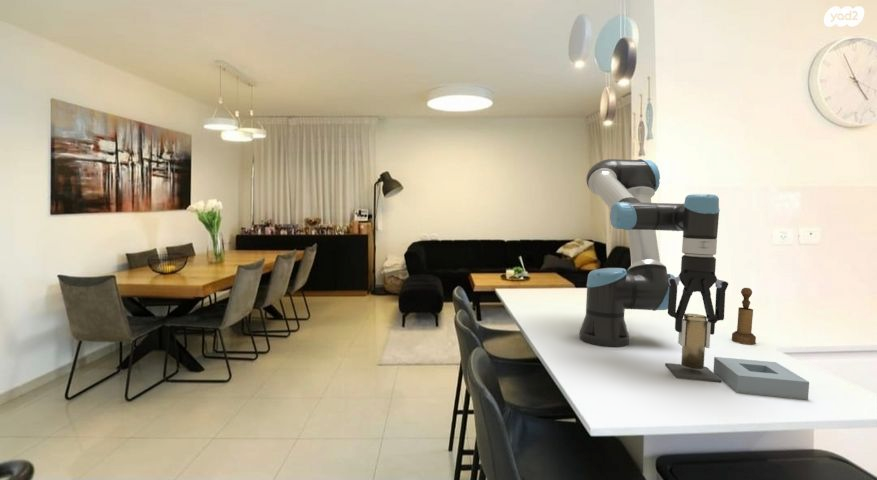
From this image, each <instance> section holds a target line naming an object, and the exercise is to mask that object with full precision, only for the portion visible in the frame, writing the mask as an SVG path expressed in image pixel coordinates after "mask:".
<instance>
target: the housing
mask: <svg viewBox="0 0 877 480" xmlns="http://www.w3.org/2000/svg"><path fill="white" fill-rule="evenodd" d="M712 372H713V373H714V374H715V375H717V376H718V377H719V378H720V379H721V380H722V382H724V383H726V384H727V385H728V386H729V387H731V388H732V389H733V390H734V391H735V393H738V394H739V393H740V394H746V395H747V394H750V395H759V396H767V397H778V398H789V399H790V398H791V399H798V400H809V390H810V381H809V380H807V379H805V378H803V377H801V376H800V375H799V374H797V373H795V372H793V371H791V370H789V369H788V368H786V367H785V366H783V365H781V364H780V363H778V362H776V361H768V360H755V359H746V358H745V359H744V358H742V359H741V358H732V357H721V356H720V357H719V356H714V358H713V371H712Z"/></svg>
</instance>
